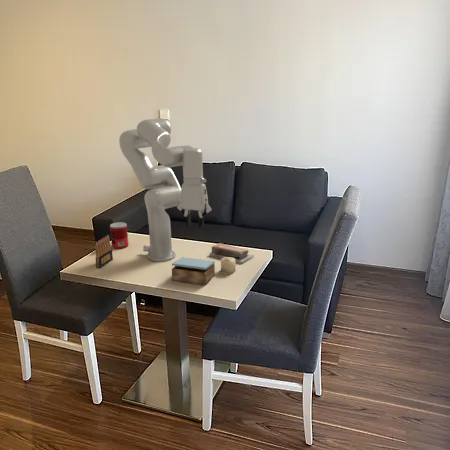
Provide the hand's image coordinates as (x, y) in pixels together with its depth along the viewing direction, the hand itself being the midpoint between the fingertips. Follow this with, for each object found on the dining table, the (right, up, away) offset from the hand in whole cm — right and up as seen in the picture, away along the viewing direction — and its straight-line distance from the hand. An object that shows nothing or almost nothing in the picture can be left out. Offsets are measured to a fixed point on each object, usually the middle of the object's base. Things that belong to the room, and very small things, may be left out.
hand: (194, 225), depth 189 cm
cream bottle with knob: (+13, -19, +10) cm, 25 cm away
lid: (-1, -15, +2) cm, 16 cm away
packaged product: (+15, -15, +26) cm, 33 cm away
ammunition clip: (-41, -17, +20) cm, 48 cm away
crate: (-1, -21, +4) cm, 22 cm away
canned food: (-38, -10, +40) cm, 56 cm away
